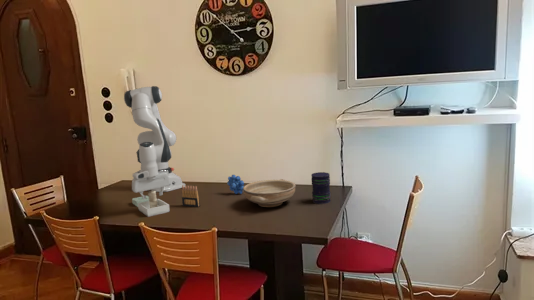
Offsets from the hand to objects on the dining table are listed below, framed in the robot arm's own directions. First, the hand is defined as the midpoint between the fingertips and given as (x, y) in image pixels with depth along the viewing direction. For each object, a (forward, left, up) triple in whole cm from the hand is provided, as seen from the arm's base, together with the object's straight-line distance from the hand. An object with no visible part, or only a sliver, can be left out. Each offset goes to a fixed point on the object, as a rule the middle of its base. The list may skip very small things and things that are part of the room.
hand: (152, 196), depth 228 cm
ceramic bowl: (-53, +36, -8) cm, 64 cm away
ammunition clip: (-19, +7, -8) cm, 22 cm away
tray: (0, 0, -8) cm, 8 cm away
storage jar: (-75, +53, -8) cm, 92 cm away
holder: (0, -20, -8) cm, 21 cm away
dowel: (0, 0, -7) cm, 7 cm away
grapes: (-49, +5, -8) cm, 50 cm away
